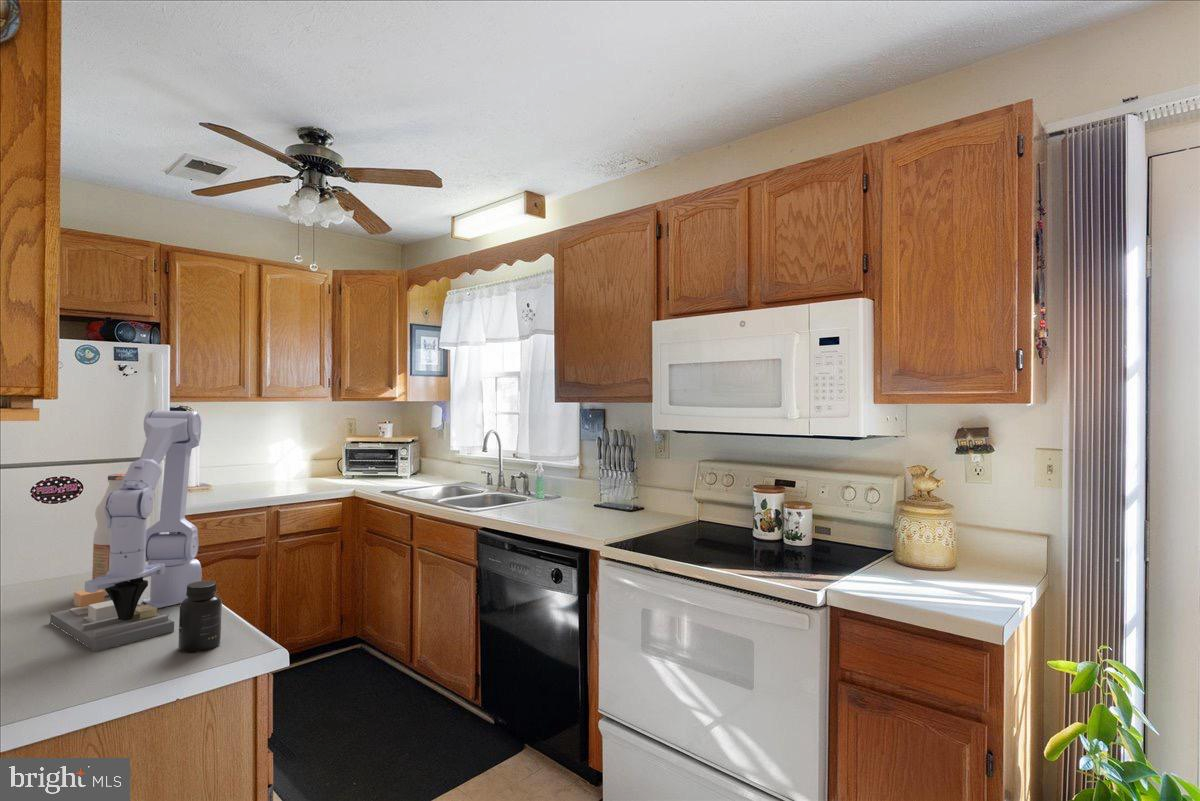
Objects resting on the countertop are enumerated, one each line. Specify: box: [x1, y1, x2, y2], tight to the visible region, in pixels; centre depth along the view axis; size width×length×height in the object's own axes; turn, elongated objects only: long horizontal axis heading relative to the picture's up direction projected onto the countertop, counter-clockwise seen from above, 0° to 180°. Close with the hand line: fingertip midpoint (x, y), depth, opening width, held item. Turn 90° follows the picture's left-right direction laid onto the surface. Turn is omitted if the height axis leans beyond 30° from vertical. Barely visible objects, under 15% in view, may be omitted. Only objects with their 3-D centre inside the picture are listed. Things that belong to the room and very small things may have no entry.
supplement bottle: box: [178, 580, 223, 654], centre depth 119 cm, size 7×7×12 cm
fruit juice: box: [91, 473, 126, 597], centre depth 151 cm, size 9×9×28 cm
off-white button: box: [88, 599, 118, 621], centre depth 127 cm, size 4×4×2 cm
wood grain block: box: [131, 604, 158, 622], centre depth 126 cm, size 3×4×2 cm
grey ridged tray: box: [49, 604, 175, 652], centre depth 127 cm, size 13×24×3 cm, turn 56°
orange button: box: [73, 589, 106, 608], centre depth 131 cm, size 4×4×2 cm
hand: (125, 619), depth 123 cm, fingers closed
